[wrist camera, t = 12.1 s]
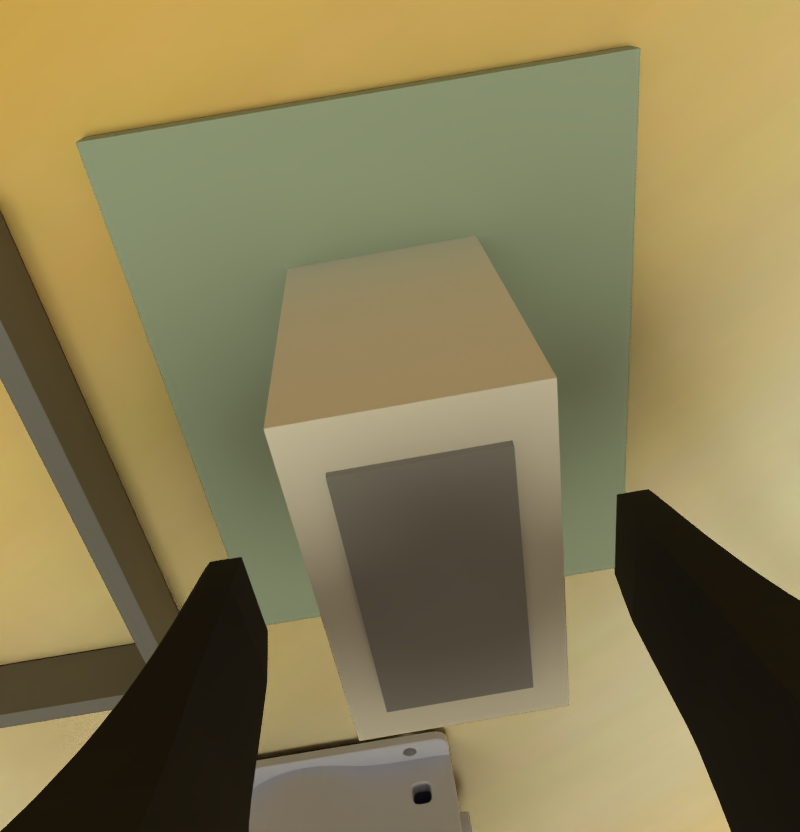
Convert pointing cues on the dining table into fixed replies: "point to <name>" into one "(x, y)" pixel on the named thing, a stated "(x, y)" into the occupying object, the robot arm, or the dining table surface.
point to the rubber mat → (373, 233)
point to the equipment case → (74, 515)
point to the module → (423, 485)
